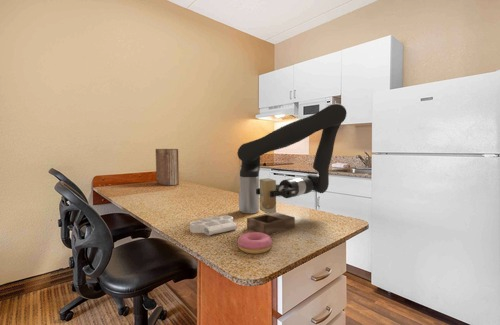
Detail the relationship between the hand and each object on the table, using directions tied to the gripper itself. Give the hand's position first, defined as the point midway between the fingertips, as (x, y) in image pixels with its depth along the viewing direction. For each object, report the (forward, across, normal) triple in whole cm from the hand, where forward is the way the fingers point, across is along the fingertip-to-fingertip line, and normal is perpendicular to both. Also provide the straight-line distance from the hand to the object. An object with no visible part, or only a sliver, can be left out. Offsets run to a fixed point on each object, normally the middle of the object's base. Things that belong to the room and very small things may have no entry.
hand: (263, 193), depth 96 cm
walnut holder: (-4, 0, +14) cm, 15 cm away
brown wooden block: (-20, -143, +14) cm, 145 cm away
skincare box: (-2, 0, +8) cm, 8 cm away
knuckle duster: (+13, -14, +14) cm, 24 cm away
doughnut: (+14, +10, +14) cm, 23 cm away
